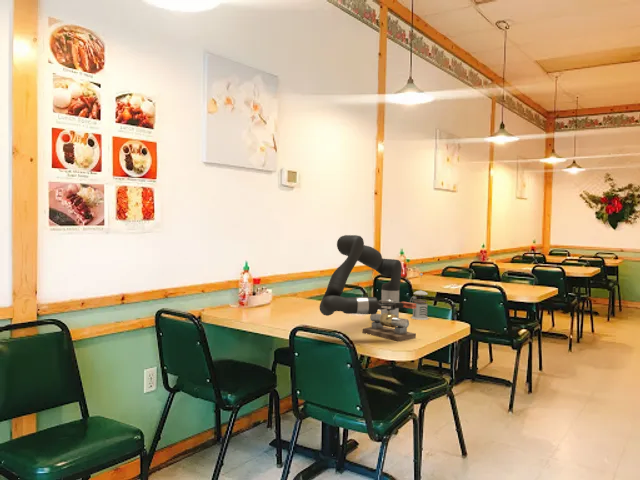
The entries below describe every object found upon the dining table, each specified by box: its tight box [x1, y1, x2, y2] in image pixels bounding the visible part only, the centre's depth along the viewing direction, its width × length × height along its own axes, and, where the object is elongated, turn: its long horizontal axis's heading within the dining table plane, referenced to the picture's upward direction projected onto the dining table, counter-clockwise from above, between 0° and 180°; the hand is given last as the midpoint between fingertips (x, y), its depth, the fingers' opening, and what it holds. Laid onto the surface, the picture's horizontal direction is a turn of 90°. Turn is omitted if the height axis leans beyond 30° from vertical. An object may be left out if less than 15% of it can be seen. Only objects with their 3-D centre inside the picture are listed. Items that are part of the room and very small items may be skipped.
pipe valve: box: [369, 310, 410, 335], centre depth 239 cm, size 20×6×12 cm, turn 42°
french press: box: [409, 272, 429, 321], centre depth 284 cm, size 10×12×25 cm
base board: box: [361, 326, 417, 342], centre depth 239 cm, size 22×12×2 cm, turn 42°
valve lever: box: [386, 299, 416, 310], centre depth 234 cm, size 3×16×2 cm, turn 43°
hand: (402, 305), depth 228 cm, fingers closed
